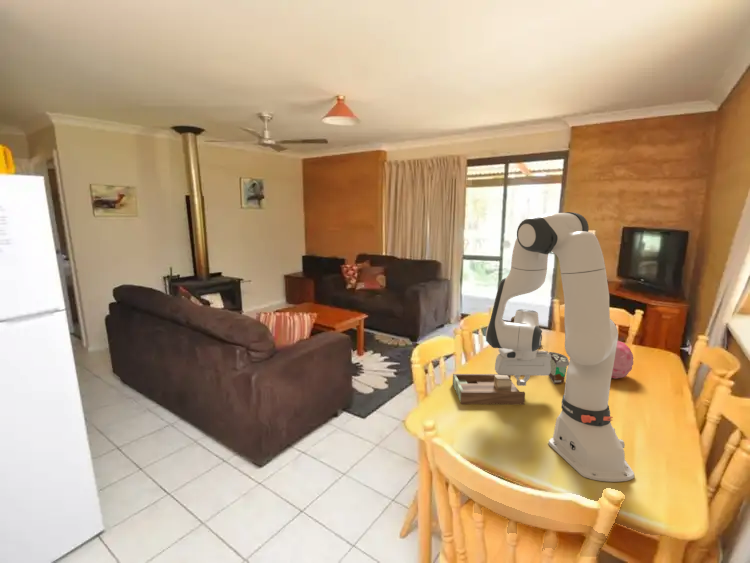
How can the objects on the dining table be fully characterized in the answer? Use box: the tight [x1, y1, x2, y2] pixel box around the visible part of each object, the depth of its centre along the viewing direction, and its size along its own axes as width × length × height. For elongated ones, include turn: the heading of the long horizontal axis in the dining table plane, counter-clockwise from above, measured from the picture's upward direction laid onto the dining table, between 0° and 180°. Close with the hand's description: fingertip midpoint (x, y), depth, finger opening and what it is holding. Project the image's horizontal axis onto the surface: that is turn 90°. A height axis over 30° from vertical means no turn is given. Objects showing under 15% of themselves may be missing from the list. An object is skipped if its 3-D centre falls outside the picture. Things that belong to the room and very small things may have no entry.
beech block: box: [494, 375, 513, 391], centre depth 139 cm, size 5×5×4 cm
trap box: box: [452, 373, 526, 405], centre depth 140 cm, size 16×23×4 cm
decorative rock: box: [611, 340, 634, 379], centre depth 156 cm, size 19×14×15 cm
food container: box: [548, 351, 570, 385], centre depth 151 cm, size 12×6×10 cm, turn 168°
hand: (521, 385), depth 139 cm, fingers closed
